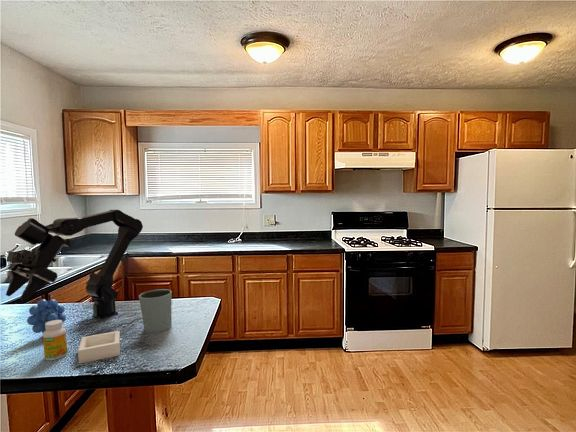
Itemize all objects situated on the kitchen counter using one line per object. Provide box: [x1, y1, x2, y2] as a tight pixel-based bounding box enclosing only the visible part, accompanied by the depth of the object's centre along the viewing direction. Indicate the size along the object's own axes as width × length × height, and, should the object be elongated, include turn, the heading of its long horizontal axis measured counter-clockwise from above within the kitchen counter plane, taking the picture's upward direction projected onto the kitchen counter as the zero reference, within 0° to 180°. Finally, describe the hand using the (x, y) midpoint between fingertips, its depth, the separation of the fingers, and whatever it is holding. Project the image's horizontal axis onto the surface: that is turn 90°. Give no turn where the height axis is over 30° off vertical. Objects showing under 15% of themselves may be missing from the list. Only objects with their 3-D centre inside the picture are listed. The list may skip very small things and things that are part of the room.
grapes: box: [26, 298, 67, 334], centre depth 110 cm, size 12×7×12 cm, turn 156°
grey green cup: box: [138, 288, 173, 335], centre depth 113 cm, size 10×10×12 cm
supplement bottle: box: [42, 320, 68, 361], centre depth 95 cm, size 5×5×10 cm
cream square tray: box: [77, 330, 121, 364], centre depth 97 cm, size 10×10×4 cm
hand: (14, 297), depth 103 cm, fingers open, 9 cm apart
